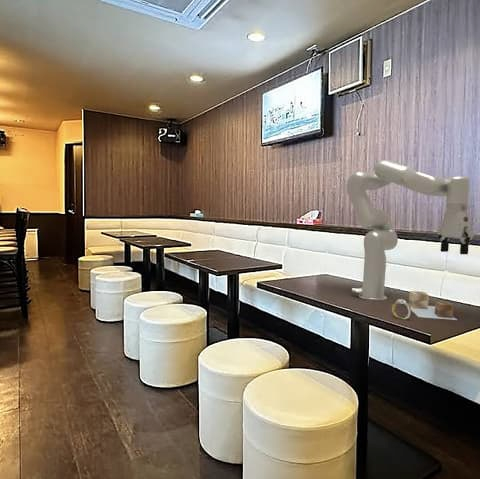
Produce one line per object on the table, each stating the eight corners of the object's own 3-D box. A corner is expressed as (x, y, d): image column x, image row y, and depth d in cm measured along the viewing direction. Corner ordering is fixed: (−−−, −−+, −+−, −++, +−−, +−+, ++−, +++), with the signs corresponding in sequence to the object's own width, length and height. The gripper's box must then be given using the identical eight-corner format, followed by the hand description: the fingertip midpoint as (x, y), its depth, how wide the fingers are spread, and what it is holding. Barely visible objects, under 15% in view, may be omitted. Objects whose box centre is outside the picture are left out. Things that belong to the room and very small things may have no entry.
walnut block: (438, 317, 152) (440, 304, 151) (434, 313, 157) (435, 301, 156) (452, 318, 151) (453, 305, 151) (447, 314, 156) (448, 302, 156)
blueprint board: (418, 318, 151) (418, 316, 151) (403, 305, 172) (404, 303, 172) (457, 322, 149) (457, 319, 149) (437, 307, 170) (438, 305, 170)
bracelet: (389, 318, 150) (391, 297, 150) (394, 317, 152) (396, 296, 152) (406, 323, 145) (408, 301, 144) (411, 321, 147) (413, 300, 146)
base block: (412, 308, 164) (413, 294, 163) (408, 304, 170) (409, 290, 169) (427, 309, 163) (429, 295, 163) (423, 305, 169) (424, 291, 169)
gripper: (483, 209, 145) (480, 255, 146) (447, 209, 162) (445, 250, 163) (466, 208, 143) (463, 255, 144) (432, 208, 160) (429, 250, 161)
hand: (453, 252), depth 153 cm, fingers open, 9 cm apart
